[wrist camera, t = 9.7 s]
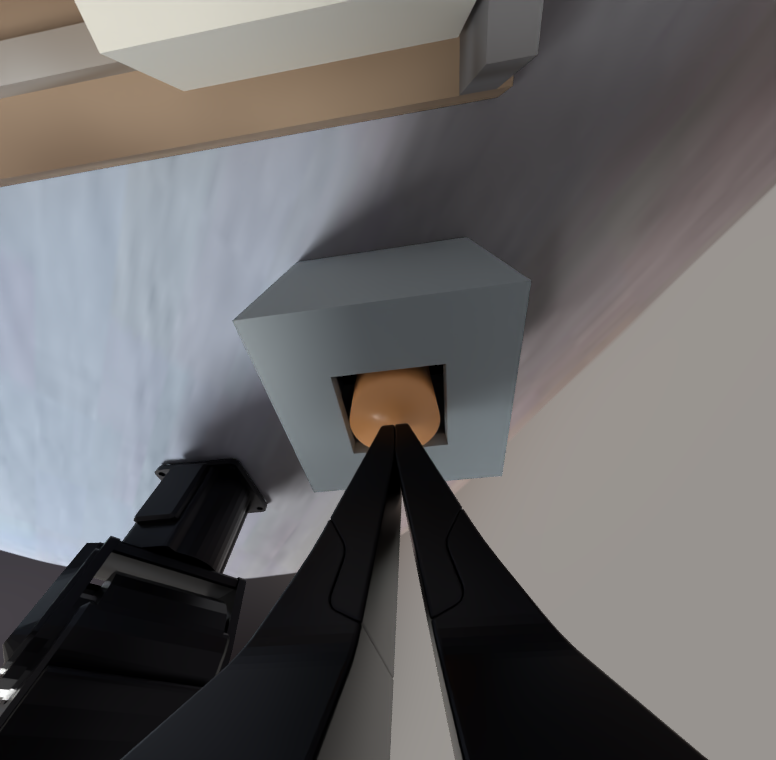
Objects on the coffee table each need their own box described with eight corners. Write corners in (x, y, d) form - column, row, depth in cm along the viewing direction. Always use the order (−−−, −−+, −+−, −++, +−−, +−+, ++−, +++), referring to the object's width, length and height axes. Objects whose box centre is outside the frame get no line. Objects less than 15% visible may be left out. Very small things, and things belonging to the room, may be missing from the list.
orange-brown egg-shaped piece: (428, 388, 13) (441, 448, 10) (364, 395, 13) (359, 456, 10) (425, 329, 11) (438, 381, 8) (351, 338, 12) (340, 391, 9)
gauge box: (463, 379, 18) (502, 475, 12) (336, 393, 18) (314, 492, 12) (466, 237, 13) (531, 280, 7) (297, 262, 14) (232, 320, 8)
